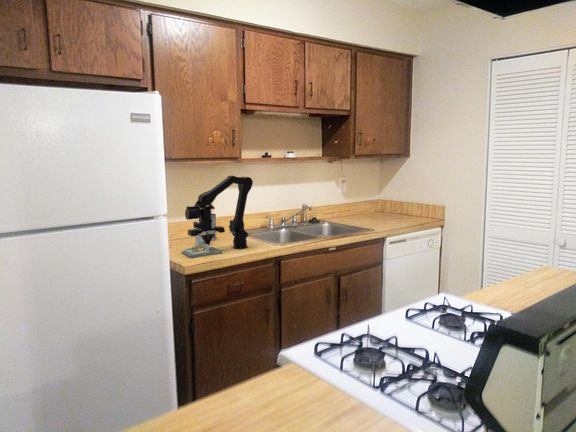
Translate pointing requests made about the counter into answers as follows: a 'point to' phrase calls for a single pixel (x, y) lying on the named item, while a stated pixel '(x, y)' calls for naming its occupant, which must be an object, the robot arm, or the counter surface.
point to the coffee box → (213, 225)
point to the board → (211, 252)
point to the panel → (200, 245)
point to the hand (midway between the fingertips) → (207, 247)
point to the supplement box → (198, 238)
